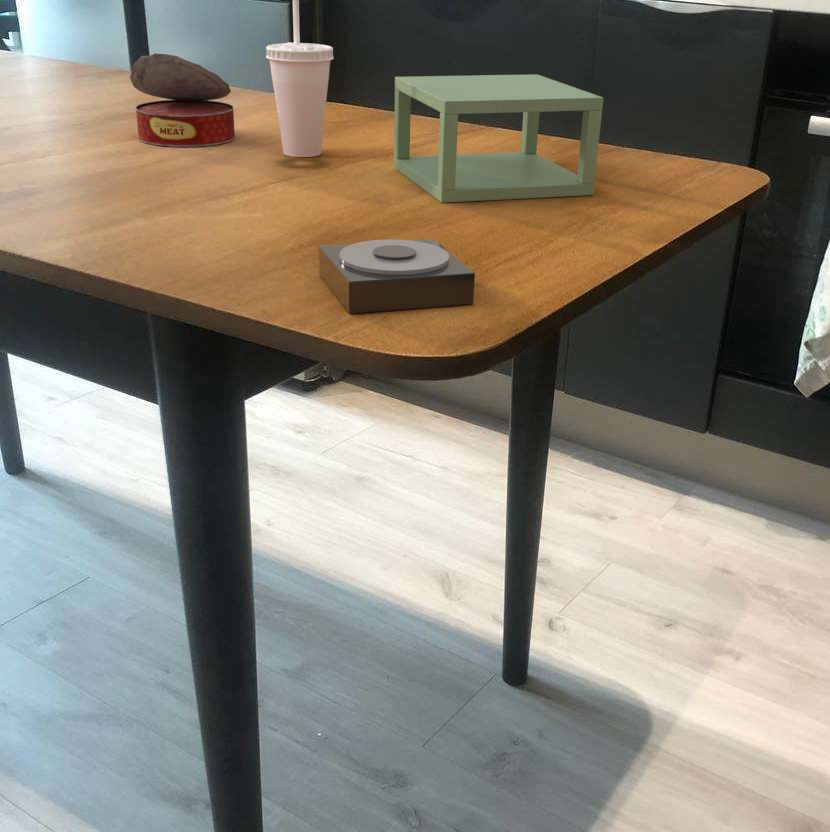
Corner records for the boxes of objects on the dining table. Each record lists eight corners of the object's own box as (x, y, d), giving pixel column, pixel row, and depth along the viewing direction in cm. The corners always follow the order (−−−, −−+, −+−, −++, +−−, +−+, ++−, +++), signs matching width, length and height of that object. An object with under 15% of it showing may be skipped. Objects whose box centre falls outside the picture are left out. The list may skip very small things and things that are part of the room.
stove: (349, 314, 65) (349, 273, 64) (319, 275, 72) (318, 238, 71) (473, 304, 68) (475, 264, 66) (433, 267, 74) (434, 231, 73)
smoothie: (315, 144, 110) (312, -8, 104) (346, 156, 106) (346, -3, 99) (258, 150, 107) (251, -7, 100) (288, 162, 103) (283, -1, 96)
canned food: (140, 184, 113) (97, 90, 111) (216, 160, 119) (177, 71, 117) (189, 147, 104) (144, 44, 102) (269, 124, 110) (228, 26, 108)
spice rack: (441, 202, 90) (444, 101, 86) (393, 167, 102) (394, 76, 98) (593, 195, 94) (603, 97, 90) (530, 162, 106) (537, 74, 102)
